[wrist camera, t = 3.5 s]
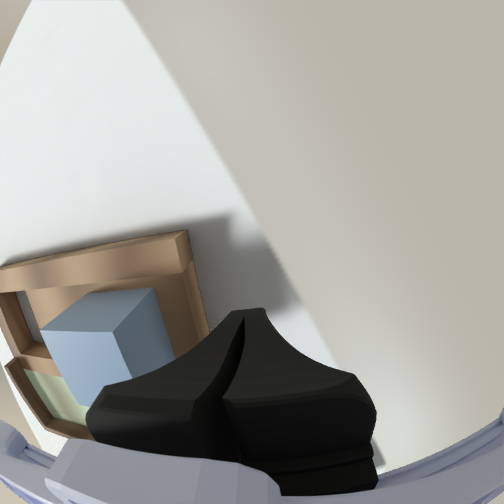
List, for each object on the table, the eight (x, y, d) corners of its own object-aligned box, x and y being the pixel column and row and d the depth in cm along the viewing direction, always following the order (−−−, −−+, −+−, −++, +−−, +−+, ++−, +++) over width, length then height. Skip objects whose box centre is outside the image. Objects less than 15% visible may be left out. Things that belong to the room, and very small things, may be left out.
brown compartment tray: (187, 229, 13) (162, 246, 10) (236, 426, 16) (233, 465, 13) (-2, 267, 14) (-31, 281, 11) (62, 407, 17) (45, 429, 14)
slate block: (153, 287, 12) (112, 331, 8) (176, 360, 13) (151, 416, 9) (87, 293, 12) (39, 330, 8) (112, 359, 13) (78, 404, 9)
